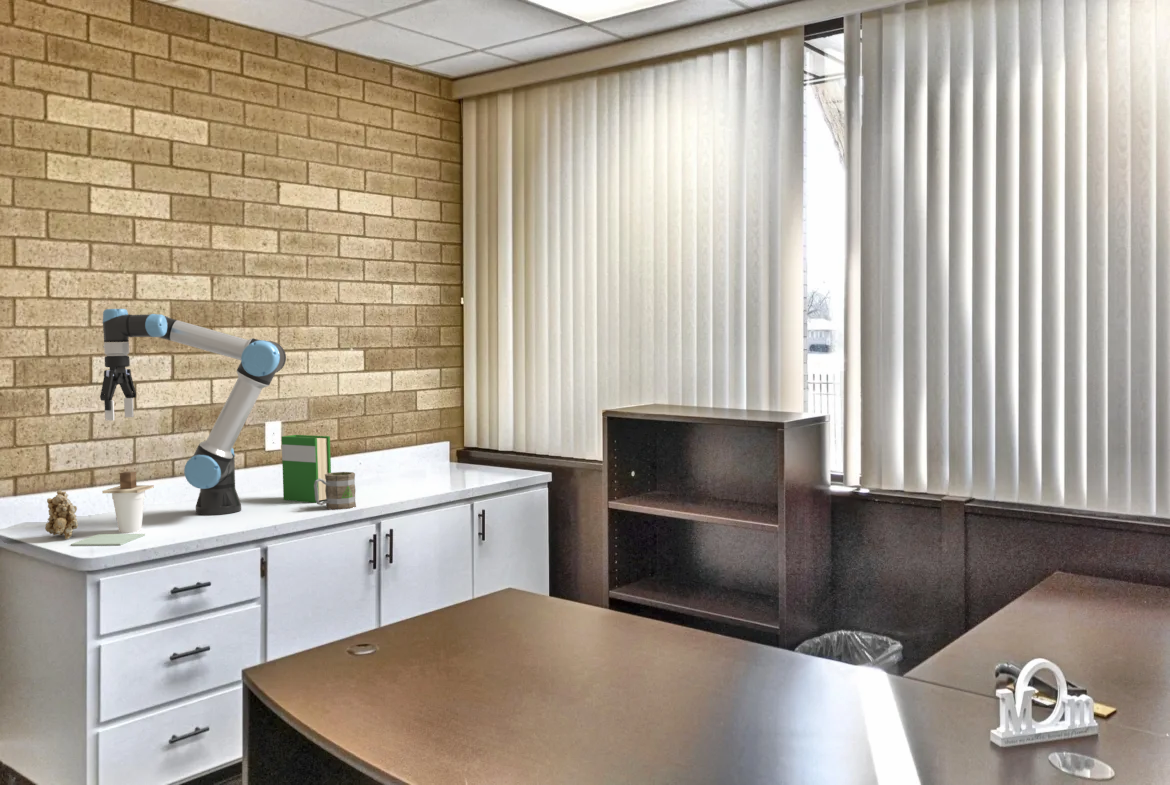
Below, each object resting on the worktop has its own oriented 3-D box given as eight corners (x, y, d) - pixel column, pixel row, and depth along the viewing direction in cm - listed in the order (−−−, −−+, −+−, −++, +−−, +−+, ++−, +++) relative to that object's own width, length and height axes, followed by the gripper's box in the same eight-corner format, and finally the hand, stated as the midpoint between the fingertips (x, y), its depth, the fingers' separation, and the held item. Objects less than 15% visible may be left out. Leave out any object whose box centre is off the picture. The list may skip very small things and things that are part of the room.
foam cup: (133, 534, 307) (131, 492, 307) (107, 533, 309) (105, 492, 308) (152, 528, 317) (151, 488, 316) (127, 527, 318) (125, 488, 318)
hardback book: (331, 500, 369) (329, 436, 368) (317, 503, 363) (315, 438, 361) (298, 497, 378) (296, 434, 377) (283, 499, 372) (281, 436, 370)
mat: (145, 535, 305) (145, 533, 305) (120, 545, 290) (120, 543, 290) (97, 535, 306) (97, 534, 306) (70, 545, 291) (70, 544, 291)
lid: (153, 487, 318) (153, 469, 317) (137, 492, 307) (136, 474, 306) (120, 488, 318) (119, 470, 318) (102, 493, 307) (101, 474, 307)
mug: (345, 503, 360) (344, 471, 359) (362, 506, 353) (361, 473, 352) (307, 509, 349) (306, 475, 348) (323, 512, 341) (322, 478, 341)
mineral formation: (68, 533, 311) (66, 486, 310) (87, 538, 302) (85, 489, 302) (41, 537, 305) (39, 489, 304) (59, 542, 296) (57, 492, 295)
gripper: (123, 355, 341) (126, 416, 342) (86, 356, 316) (89, 421, 317) (145, 354, 341) (147, 415, 342) (109, 355, 316) (112, 421, 317)
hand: (119, 418), depth 329 cm, fingers open, 13 cm apart
